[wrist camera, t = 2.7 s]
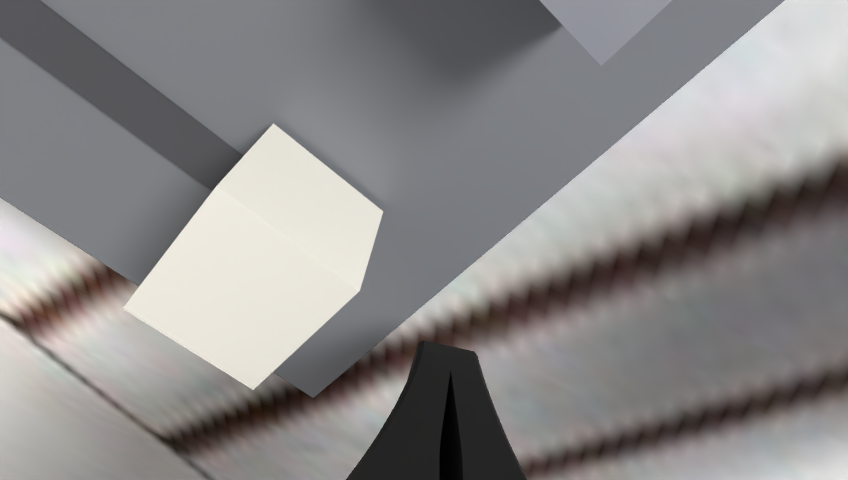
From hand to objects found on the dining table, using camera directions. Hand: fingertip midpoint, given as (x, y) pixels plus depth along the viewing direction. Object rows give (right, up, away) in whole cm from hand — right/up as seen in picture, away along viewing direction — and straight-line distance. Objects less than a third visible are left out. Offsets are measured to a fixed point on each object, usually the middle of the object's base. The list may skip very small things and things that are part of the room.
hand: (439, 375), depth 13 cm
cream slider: (-4, +4, 0) cm, 5 cm away
